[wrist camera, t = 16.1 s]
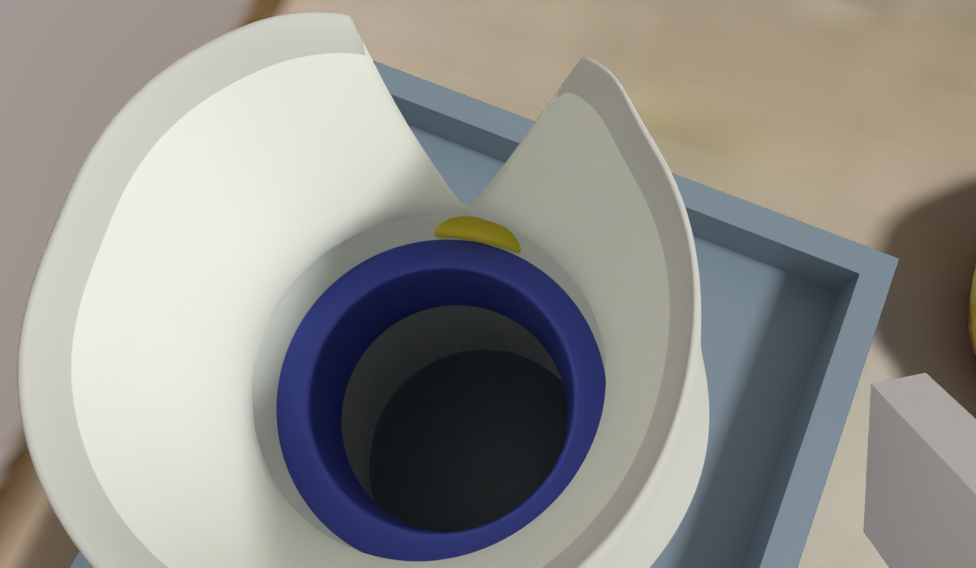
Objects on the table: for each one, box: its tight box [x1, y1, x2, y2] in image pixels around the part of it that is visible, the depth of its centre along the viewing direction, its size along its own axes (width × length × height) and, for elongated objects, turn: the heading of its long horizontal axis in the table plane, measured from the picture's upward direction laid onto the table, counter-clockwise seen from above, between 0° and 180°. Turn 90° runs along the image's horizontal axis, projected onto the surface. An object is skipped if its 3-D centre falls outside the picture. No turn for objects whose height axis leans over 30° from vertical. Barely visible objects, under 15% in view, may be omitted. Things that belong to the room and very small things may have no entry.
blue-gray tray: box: [70, 60, 899, 568], centre depth 26 cm, size 22×20×3 cm
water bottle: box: [17, 12, 709, 568], centre depth 15 cm, size 8×9×25 cm
